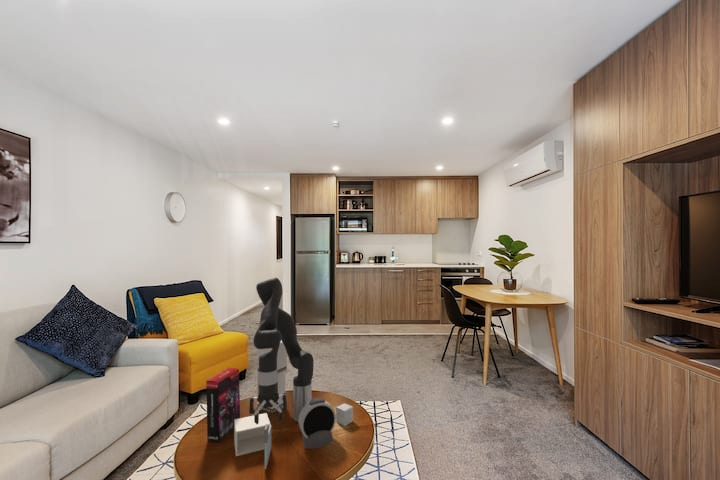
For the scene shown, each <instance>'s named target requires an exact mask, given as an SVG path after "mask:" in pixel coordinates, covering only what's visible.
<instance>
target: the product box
mask: <svg viewBox="0 0 720 480" xmlns="http://www.w3.org/2000/svg"><path fill="white" fill-rule="evenodd" d="M335 413H336V423H337V424H340V425H341V426H344V427H346V426H348V425H349V424H351V423H352V422H354V407H353V406H352V405H350V404H347V403H342V404H341V405H338V406H336V411H335Z"/></svg>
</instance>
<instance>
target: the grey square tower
mask: <svg viewBox="0 0 720 480" xmlns="http://www.w3.org/2000/svg"><path fill="white" fill-rule="evenodd" d="M271 350H272V348H268V349H257V361H256V363H257V367H256V368H257V369H256V370H257V374H256V375H257V379H256V380H257V382H256V383H257V384H256V385H257V396H256V397H258V374H259V357H260V356H261V355H262V354H265V353H268V352H270V351H271ZM287 362H288V354H287V351H286V349H285V346H284V345H283V343H282V340H281V342H280V346H279V349H278V354H277V372H278V394H279V395H282V394H283V393H286V373H287V372H288V368H287V367H288V363H287ZM256 401H257V400H256ZM278 402H279V404H280V405H281V407H282V406H283V401H282V400H281V399H280V398H279V399H278ZM256 404H257V406H256V408H257V407H258V405H259V404H260V403H259V402H258V401H257V403H256ZM261 410H263V411H265V412H267V413H272V414H274V413H275V412H277V411H278V410H277V409H275V407H274V406H273V407H271V408H270V407H267V408H264V407H262V408H261ZM273 412H274V413H273Z"/></svg>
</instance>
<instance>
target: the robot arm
mask: <svg viewBox="0 0 720 480" xmlns="http://www.w3.org/2000/svg"><path fill="white" fill-rule="evenodd" d="M256 292H257V293H256V294H257V295H258V297H259V299H260V301H261V302H262V305H263V306H264V307H263V309H262V311H261V312H260V319H259V325H258V328H257V329H256V332H255V334H254V336H253V346H254V347H255V348H256V349H257V350H258V349H268V348H272V350H271V351H270V352H268V353H265V354H262V355H261V356H260V357H259V374H258V397H257V396H254V395H252V396H250V398H249V407H248V408H249V409H248V410H249V411H248V414H249V415H253V416H254V422H255V423H256V424H258V423H259V414H260V413H259V412H260V411H261V410H262V409H261V408H262V407H264V408H267V407H270V408H271V407H273V406H274V407H275V409H277V411H278V423H280V422H281V421H282V420H283V412H284V411H285V412H286V411H287V409H288V408H287V407H288V401H287V394H286V393H287V392H285V393H283V394H282V395H279V394H278V372H277V354H278V349H279V346H280V342H281V340H282V343H283V345H284V346H285V349H286V351H287V358H288V361H289V363H290V364H291V367H293V368H295V369H296V370H297V375H296V376H294V377H293V381H292V389H293V390H292V391H293V392H292V393H293V394H292V397H293V398H292V401H293V402H292V403H293V404H292V405H293V406H292V408H293V410H292V416H293V421H294V422H298V420H299V415H300V412H301V410H302V409H303V407H304V406H305V405H306V404H307V403H309V402H310V401H311V400H313V399H314V398H313V397H312V392H313V390H312V379H313V377H314V366H315V365H314V362H315V361H314V357H313V354H312V353H310V352H308V351H305V350H303V349H302V347H301V346H300V344H299V342H298V337H297V334H298V331H297V326H296V324H295V321H294V319H293V317H292V316H291V314H290V313H288V312H286V311H285V310H283V309H282V308H280V304H281V300H282V295H283V285H282V282H281V280H280V279H279V278H278V277H271V278H269V279H266V280H263V281H260V282H258V283H257V284H256ZM279 398H280V399H281V400H282V401H283V406H282V407H281V405H280V404H279V402H278V399H279ZM256 401H258V402H259V403H260V404H259V405H258V407H257V406H256V408H254V407H255V406H254V404H255V403H256Z"/></svg>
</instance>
